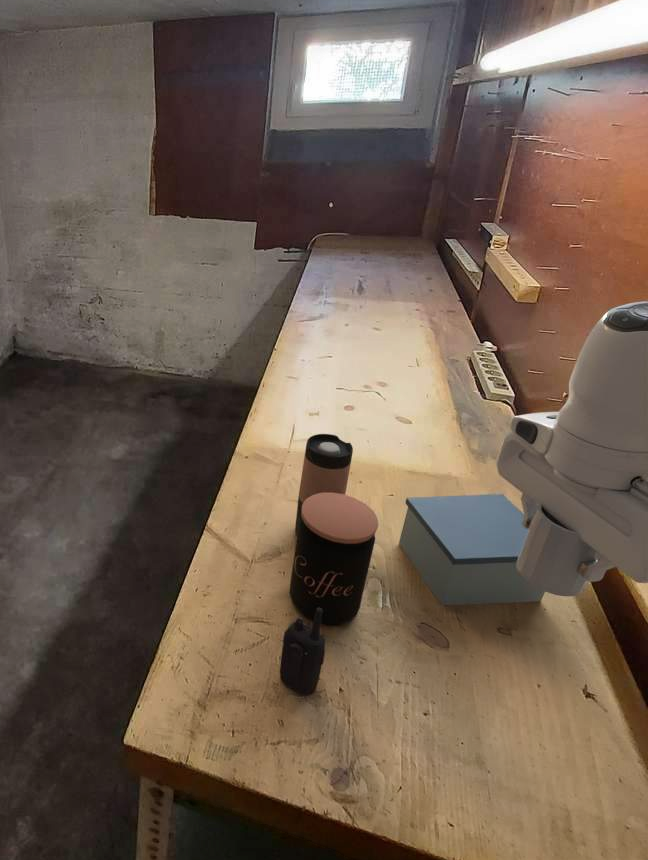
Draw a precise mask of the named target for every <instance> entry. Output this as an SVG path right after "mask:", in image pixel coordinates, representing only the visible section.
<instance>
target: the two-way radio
mask: <svg viewBox="0 0 648 860" xmlns="http://www.w3.org/2000/svg"><path fill="white" fill-rule="evenodd" d="M322 612H323V610H322V609H321V608H317V609H316V613H315V617H314V621H312V627H311V626H309V625H307V624H305V623H304V619H303V618H301V617H297V618H296V619H295V621H293V622H291V624H289V626H288V627H287V628H286V629H285V631H284V634H283V639H282V648H281V654H280V665H279V667H280V668H279V677H280V680H281V682H282V684H284V685H285V686H286V687H288V688H290V689H291V690H292V691H294V692H296V693H298V694H299V695H303V696H310V695H313V694H314V693H315V692H316V690H317V686H318V683H319V679H320V676H321V672H322V666H323V665H324V662H325V661H324V660H325V655H326V647H325V646H326V643H325V642H326V640H325V638H324V635H323V634H322V633H321V627H322V624H321V620H322Z"/></svg>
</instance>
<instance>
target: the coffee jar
mask: <svg viewBox="0 0 648 860" xmlns="http://www.w3.org/2000/svg"><path fill="white" fill-rule="evenodd" d="M378 520H379V519H378V516H377V515H376V513H375V511H374V510H373V509H372V508H371V507H369V506H368V505H367V504H366V503H365V502H363V501H361V500H359V499H357V498H355V497H353V496H350V495H347V494H345V495H344V494H338V493H319V494H315V495H312V496H310V497H309V498H307V499H306V500H305V501H304V503H303V504H302V510H301V517H300V520H299V526H298V533H297V537H296V540H295V548H294V555H293V561H292V567H291V568H292V569H291V575H290V581H289V597H290V599H291V602H292V604H293V605H294V606H295V608H296V609H297V611H298V612H299V613H300V614H301V615H302V616H304V617H305V618H306V619H308V620H309V621H311V622H313V621H314V617H315V613H316V609H317V608H321V609H322V610H323V612H322V620H321V626H322V625H323V626H327V627H337V626H338V627H339V626H341V625H344V624H346V623H350V622H351V621H352V620H353V619H354V618H355V617H356V616H357V615H358V613H359V611H360V608H361V604H362V599H363V595H364V592H365V591H364V590H365V586H366V582H367V577H368V574H369V568H370V564H371V559H372V556H373V552H374V547H375V542H376V531H377V530H378V528H379V521H378Z"/></svg>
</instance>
